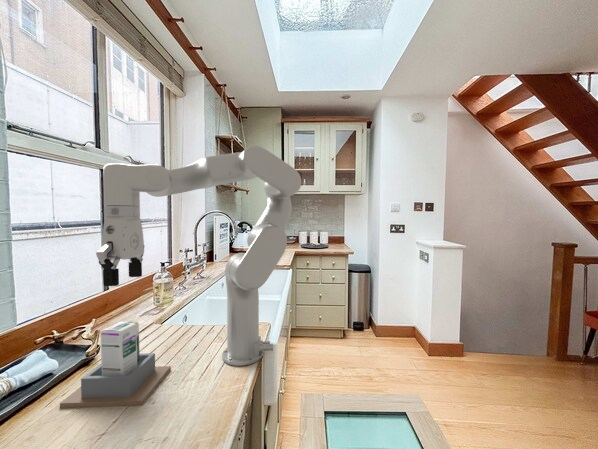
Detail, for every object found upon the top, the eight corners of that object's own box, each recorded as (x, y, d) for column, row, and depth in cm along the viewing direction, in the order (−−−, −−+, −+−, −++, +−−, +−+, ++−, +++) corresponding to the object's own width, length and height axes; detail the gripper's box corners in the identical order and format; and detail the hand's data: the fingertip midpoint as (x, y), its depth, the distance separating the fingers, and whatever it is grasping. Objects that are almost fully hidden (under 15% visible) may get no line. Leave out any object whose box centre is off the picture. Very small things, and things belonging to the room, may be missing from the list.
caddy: (170, 369, 72) (170, 350, 72) (142, 405, 58) (141, 381, 58) (104, 371, 72) (104, 351, 72) (59, 407, 58) (59, 383, 58)
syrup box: (122, 391, 62) (121, 330, 61) (100, 389, 63) (100, 329, 62) (140, 377, 67) (139, 321, 67) (120, 375, 68) (119, 320, 68)
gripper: (115, 212, 57) (117, 289, 57) (155, 214, 74) (156, 273, 75) (80, 212, 57) (82, 290, 57) (128, 214, 74) (129, 274, 74)
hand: (124, 280), depth 66 cm, fingers open, 9 cm apart
